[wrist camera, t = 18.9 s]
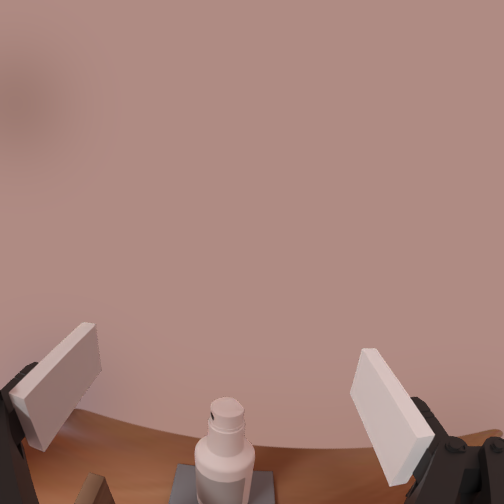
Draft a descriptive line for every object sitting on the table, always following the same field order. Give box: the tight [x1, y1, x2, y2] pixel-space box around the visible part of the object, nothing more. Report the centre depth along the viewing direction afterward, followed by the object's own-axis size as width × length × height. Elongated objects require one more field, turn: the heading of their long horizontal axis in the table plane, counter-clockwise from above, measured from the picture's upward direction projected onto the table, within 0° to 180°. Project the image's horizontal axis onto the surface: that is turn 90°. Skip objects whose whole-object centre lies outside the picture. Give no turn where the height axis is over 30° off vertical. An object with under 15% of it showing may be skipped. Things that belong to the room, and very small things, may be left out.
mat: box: [169, 464, 275, 504], centre depth 33 cm, size 14×12×1 cm
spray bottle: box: [195, 397, 255, 504], centre depth 31 cm, size 7×7×18 cm
